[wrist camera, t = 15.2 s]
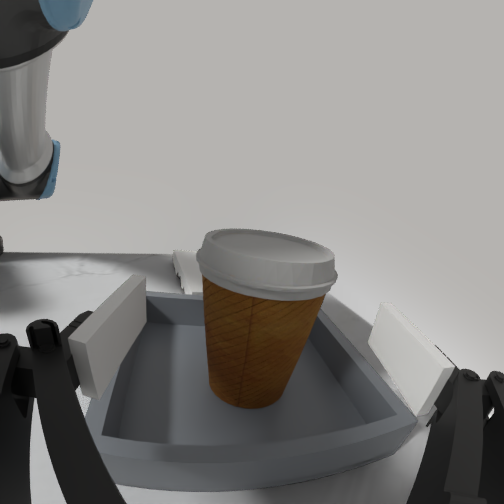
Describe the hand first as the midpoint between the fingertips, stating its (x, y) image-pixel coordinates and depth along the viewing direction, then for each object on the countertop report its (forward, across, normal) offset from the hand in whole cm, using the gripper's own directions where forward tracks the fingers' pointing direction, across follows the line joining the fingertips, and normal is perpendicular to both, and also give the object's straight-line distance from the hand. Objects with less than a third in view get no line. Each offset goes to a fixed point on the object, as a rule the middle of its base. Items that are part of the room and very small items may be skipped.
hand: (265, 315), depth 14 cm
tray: (+5, -1, -10) cm, 11 cm away
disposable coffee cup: (+5, 0, -9) cm, 10 cm away
